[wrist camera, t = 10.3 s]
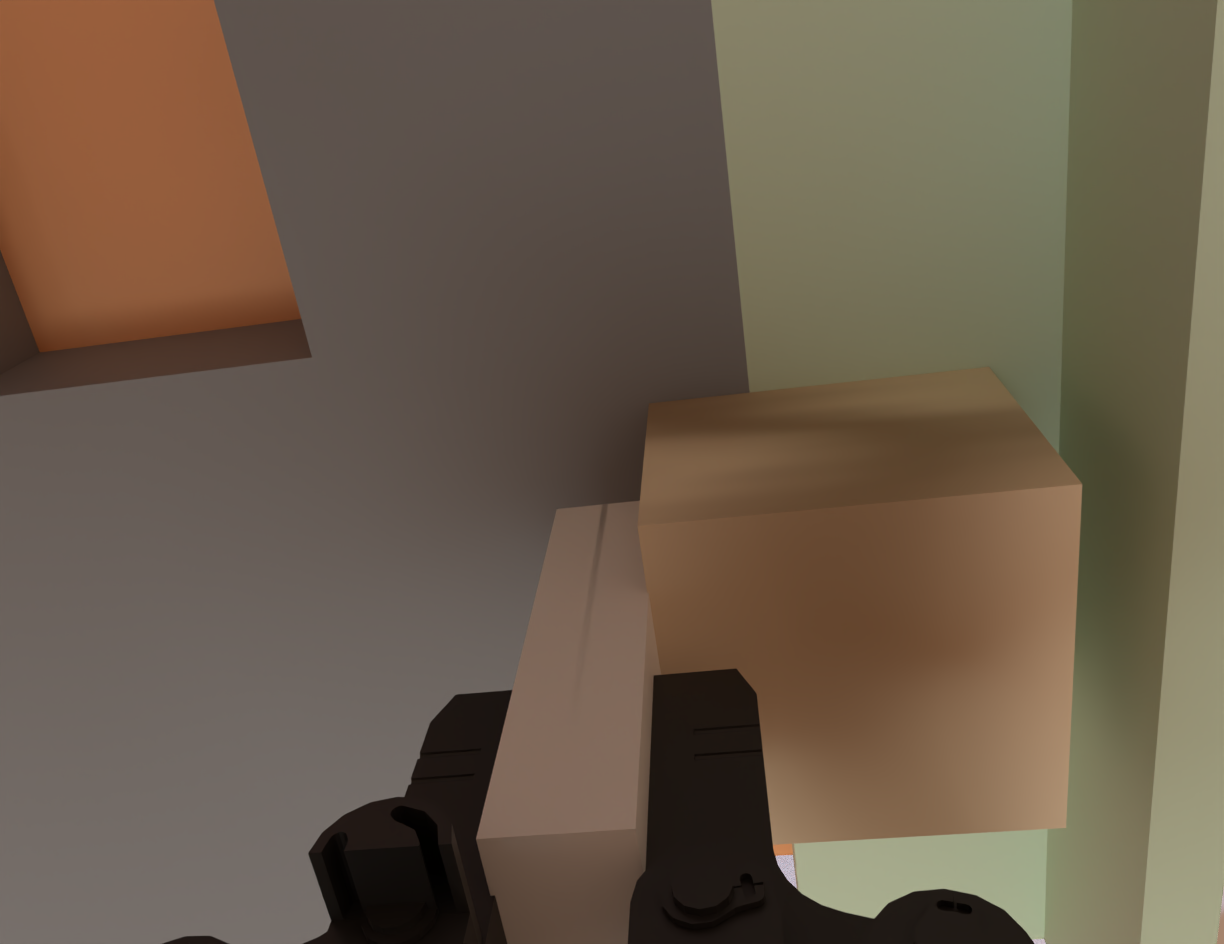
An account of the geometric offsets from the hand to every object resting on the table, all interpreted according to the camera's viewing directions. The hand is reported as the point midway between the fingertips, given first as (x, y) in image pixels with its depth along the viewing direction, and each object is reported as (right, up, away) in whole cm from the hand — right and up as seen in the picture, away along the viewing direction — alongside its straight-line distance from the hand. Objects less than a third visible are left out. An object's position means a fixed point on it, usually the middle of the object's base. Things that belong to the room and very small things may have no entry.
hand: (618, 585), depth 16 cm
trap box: (-4, +1, +5) cm, 7 cm away
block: (+3, +1, +1) cm, 4 cm away
